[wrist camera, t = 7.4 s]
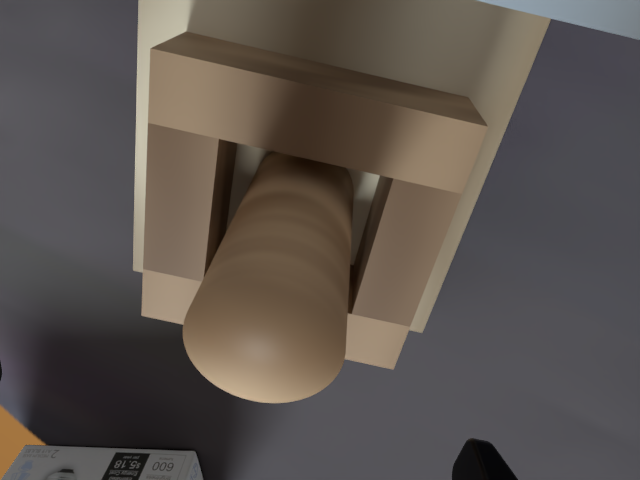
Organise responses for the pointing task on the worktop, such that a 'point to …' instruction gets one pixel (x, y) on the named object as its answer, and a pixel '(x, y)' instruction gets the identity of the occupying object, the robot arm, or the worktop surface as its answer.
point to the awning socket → (332, 131)
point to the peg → (278, 286)
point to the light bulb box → (102, 464)
